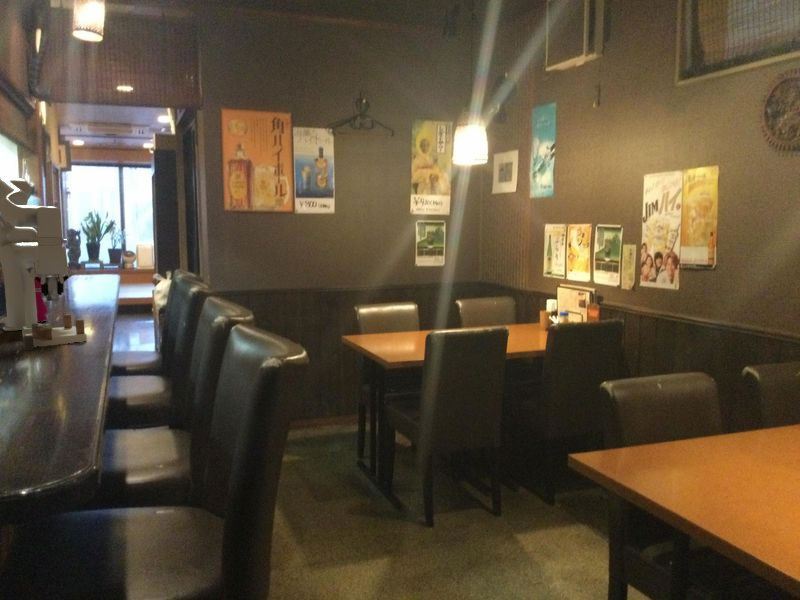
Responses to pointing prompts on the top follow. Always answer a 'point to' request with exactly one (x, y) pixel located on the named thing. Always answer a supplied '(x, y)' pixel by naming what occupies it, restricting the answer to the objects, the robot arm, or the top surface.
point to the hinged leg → (42, 333)
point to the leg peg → (52, 288)
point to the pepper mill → (40, 302)
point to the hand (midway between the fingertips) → (52, 294)
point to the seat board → (56, 334)
